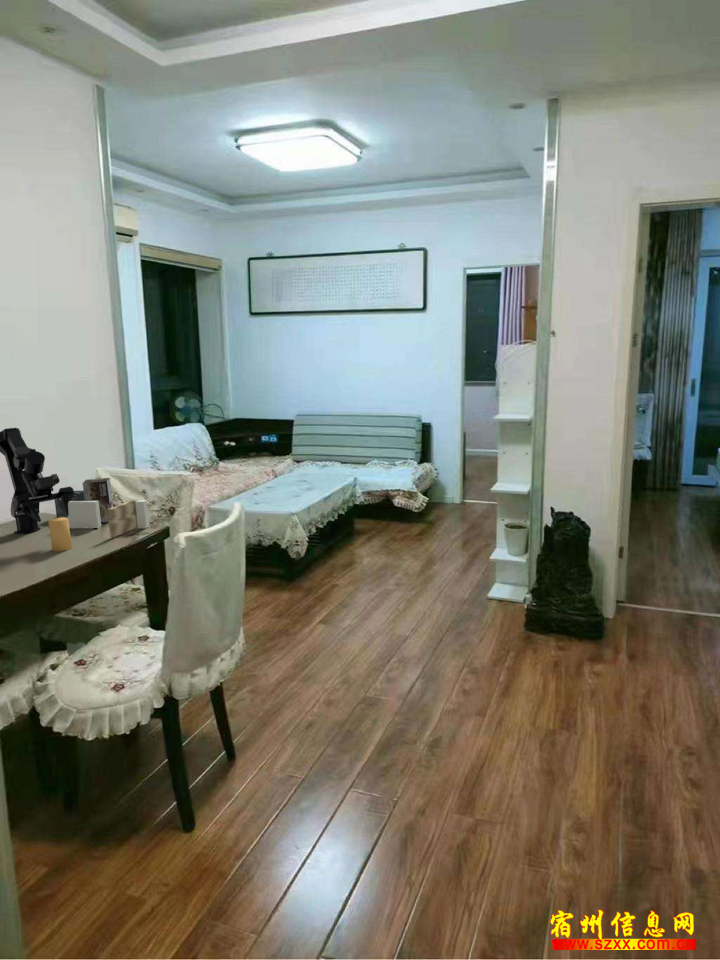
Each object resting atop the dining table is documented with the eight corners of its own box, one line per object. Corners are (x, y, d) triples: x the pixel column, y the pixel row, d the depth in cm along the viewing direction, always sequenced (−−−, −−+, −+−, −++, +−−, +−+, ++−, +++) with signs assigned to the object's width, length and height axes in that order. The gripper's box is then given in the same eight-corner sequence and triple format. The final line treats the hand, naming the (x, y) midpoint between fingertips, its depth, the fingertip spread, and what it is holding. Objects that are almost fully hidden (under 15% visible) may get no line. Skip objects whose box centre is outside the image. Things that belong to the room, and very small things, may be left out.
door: (135, 526, 246) (132, 499, 244) (139, 526, 246) (136, 499, 244) (110, 537, 233) (107, 509, 231) (114, 537, 232) (111, 509, 230)
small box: (90, 515, 267) (87, 489, 265) (81, 519, 260) (78, 493, 258) (65, 515, 268) (61, 490, 266) (56, 519, 261) (52, 493, 259)
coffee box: (115, 517, 261) (110, 477, 258) (112, 522, 255) (107, 480, 251) (90, 519, 259) (85, 479, 256) (87, 524, 253) (82, 482, 250)
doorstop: (48, 551, 220) (44, 522, 218) (59, 545, 225) (56, 517, 223) (64, 551, 218) (60, 522, 216) (75, 546, 224) (72, 517, 222)
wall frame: (149, 526, 246) (146, 500, 244) (146, 528, 244) (143, 501, 242) (71, 526, 250) (68, 500, 248) (68, 528, 247) (64, 502, 245)
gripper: (11, 472, 215) (30, 509, 210) (68, 463, 229) (87, 498, 224) (5, 493, 222) (23, 530, 217) (61, 483, 236) (79, 517, 230)
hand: (54, 518), depth 222 cm, fingers open, 9 cm apart
